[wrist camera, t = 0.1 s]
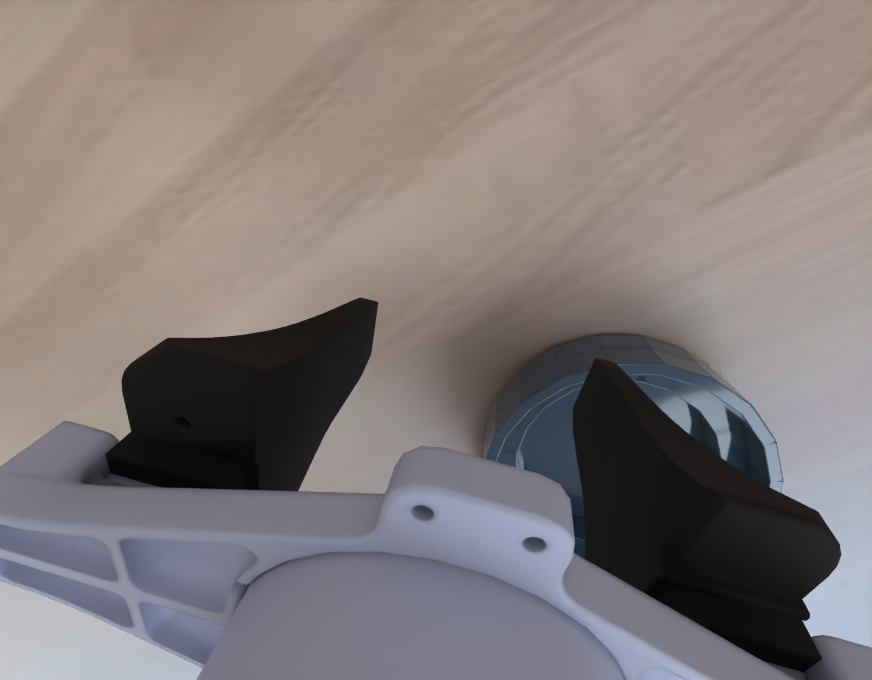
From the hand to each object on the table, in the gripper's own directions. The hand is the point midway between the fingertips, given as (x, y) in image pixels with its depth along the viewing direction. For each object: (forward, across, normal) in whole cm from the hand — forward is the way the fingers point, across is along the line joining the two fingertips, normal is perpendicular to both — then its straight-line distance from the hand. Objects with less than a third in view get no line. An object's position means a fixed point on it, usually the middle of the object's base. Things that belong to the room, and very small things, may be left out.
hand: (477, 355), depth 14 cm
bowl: (+9, -9, +9) cm, 16 cm away
